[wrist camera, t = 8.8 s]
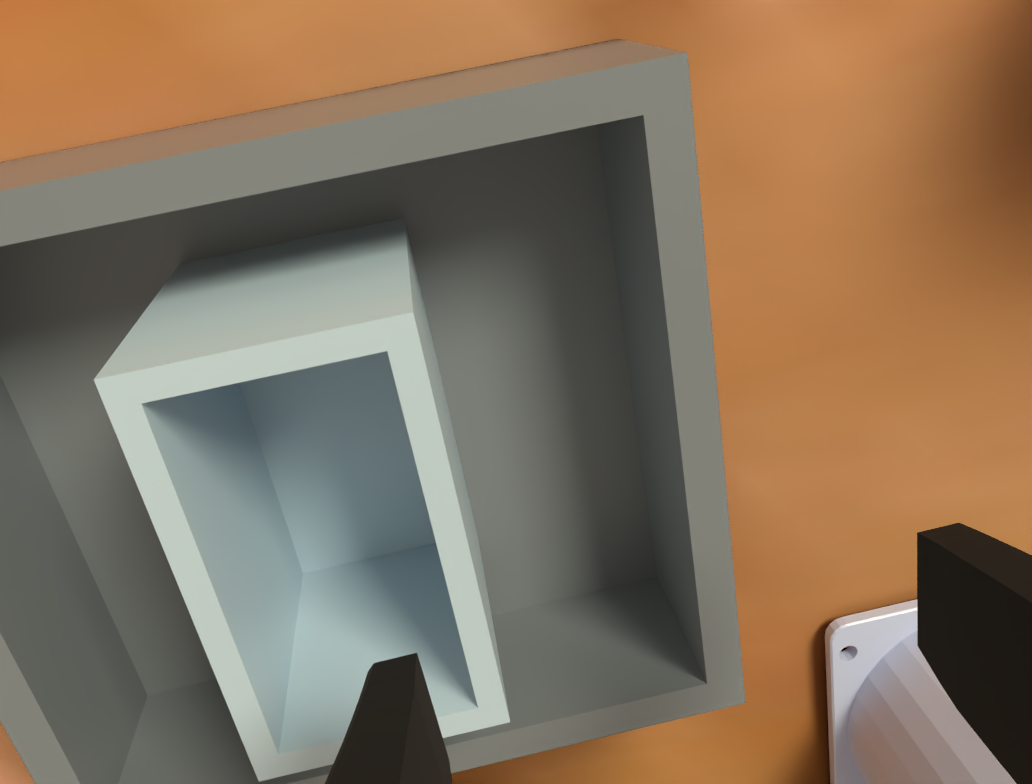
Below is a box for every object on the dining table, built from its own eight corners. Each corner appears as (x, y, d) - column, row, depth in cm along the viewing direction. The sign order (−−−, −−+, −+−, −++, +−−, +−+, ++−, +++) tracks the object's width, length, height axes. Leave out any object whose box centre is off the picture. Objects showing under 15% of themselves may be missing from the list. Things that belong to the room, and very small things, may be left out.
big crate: (683, 581, 24) (745, 703, 20) (132, 709, 23) (79, 863, 19) (618, 38, 18) (687, 52, 14) (-116, 185, 17) (-267, 244, 13)
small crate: (478, 540, 22) (510, 722, 16) (289, 582, 22) (258, 782, 16) (403, 217, 18) (413, 312, 13) (179, 263, 18) (93, 379, 13)
